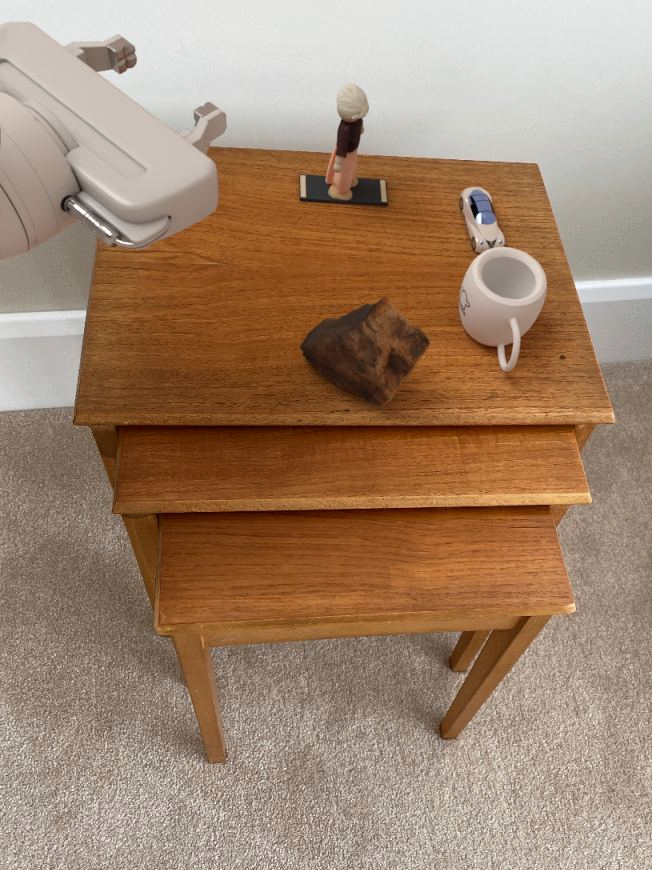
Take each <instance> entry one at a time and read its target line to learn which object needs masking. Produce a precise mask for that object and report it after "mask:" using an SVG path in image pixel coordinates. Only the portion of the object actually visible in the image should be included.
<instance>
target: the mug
mask: <svg viewBox="0 0 652 870" xmlns="http://www.w3.org/2000/svg"><path fill="white" fill-rule="evenodd" d="M547 291H548V283H547V276H546V273H545V270H544V268H543V267H542V265H541V264H540V263H539V261H538V260H536V259H535V258H534V257H533V256H532V255H530V254H529V253H527V252H525V251H523V250H520V249H517V248H514V247H509V246H504V247H496V248H493V247H490V248H489V250H486V251H484V252H483V253H479V255H477V256H476V257H475V258H474V259H473V261H472V262H471V263H470V265H469V267H468V268H467V270H466V272H465V274H464V277H463V280H462V282H461V287H460V291H459V297H458V312H459V318H460V321H461V325H462V327H463V329H464V330H465V332H466V333H467V335H469V336H470V337H471V338H472V339H473V340H475V341H476V342H477V343H480V344H482V345H484V346H489V347H497V357H498V362H499V366H500V368H501V370H502V371H503V372H505V373H509V372H511V371H513V370H514V368H515V367H516V364H517V361H518V358H519V354H520V349H521V337H522V336H524V335H525V334H526V333H527V332H528V331H529V330H530V329H531V327H532V326H533V325H534V324H535V322H536V321H537V319H538V317H539V315H540V313H541V310H542V309H543V306H544V303H545V301H546V297H547ZM510 344H512V348H511V349H512V350H511V355H510V358H509V360H508V362H507V360H506V353H505V352H506V351H505V346H508V345H510Z"/></svg>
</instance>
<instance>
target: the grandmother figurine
mask: <svg viewBox="0 0 652 870" xmlns="http://www.w3.org/2000/svg"><path fill="white" fill-rule="evenodd" d="M336 103H337V105H336V111H337V114H338V116H339V118H340V122H339V124H338V126H337V127H338V128H337V131H336V144H335V146H334V148H333V151H332V154H331V157H330V160H329V163H328V166H327V170H326V175H325V176H326V180H325V181H326V183H327V184H332V185H331V186H330V188H329V191H328V194H329V196H330V197H332V198H335V199H340V200H350V199H351V198H352V191H351V190H350V188H351V187H355V186H356V185H357V184H358V180H357V178H358V177H357V173H358V172H357V171H358V149H359V147H360V141H361V136H362V135H363V134H364V132H365V127H364V120H363V119H364V118H366V116H367V114H368V113H369V110H370V104H369V101H368V97H367V93H366V92H365V91H364V90H363V88H361V87H360V86H359V84H356V83H354V82H347V83H344V85H343V86H342V87H341V88H340V89H339V90H338V91H337V95H336Z"/></svg>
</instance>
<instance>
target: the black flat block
mask: <svg viewBox="0 0 652 870" xmlns="http://www.w3.org/2000/svg"><path fill="white" fill-rule="evenodd" d="M356 178H357V180H358V184H357V185H356V186H355V187H351V188H350V190H351V191H352V198H351V199H350V200H340V199H335V198H332V197H330V196H329V194H328V191H329V188H330V186H331V185H332V184H327V183H326V181H325V180H326V175H322V174H321V175H319V174H305V173H299V176H298V180H299V182H298V183H299V184H298V186H299V187H298V188H299V201H300V202H311V203H328V204H329V203H331V204H345V205H346V204H347V205H365V206H366V205H367V206H381V207H383V206H384V207H388V204H389V202H388V201H389V200H388V190H387V178H386V179H385V178H369V177H356Z"/></svg>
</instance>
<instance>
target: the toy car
mask: <svg viewBox="0 0 652 870" xmlns="http://www.w3.org/2000/svg"><path fill="white" fill-rule="evenodd" d="M458 200H459V209H460V210H462V211H461V212H462V214H463V215H464V219H465V224H466V227H467V231H468V235H469V238H470V240H471V248H472V250H474V252H475V253H479V254H481V253H483V252H484V251H486V250H489V249H491V248H496V247H505V244H506V239H505V235H504V233H503V231H502V230H501V229H500V227H499V225H498V221H497V217H498V216H499V214H496V213H495V209H494V206H493V198H492V195H491V194H490V193H489V191H488V190H486V189H485V188H482V187H479V186H470V187H467V188H464V189H463V190H462V191H461V193H460V195H459V199H458Z"/></svg>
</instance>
